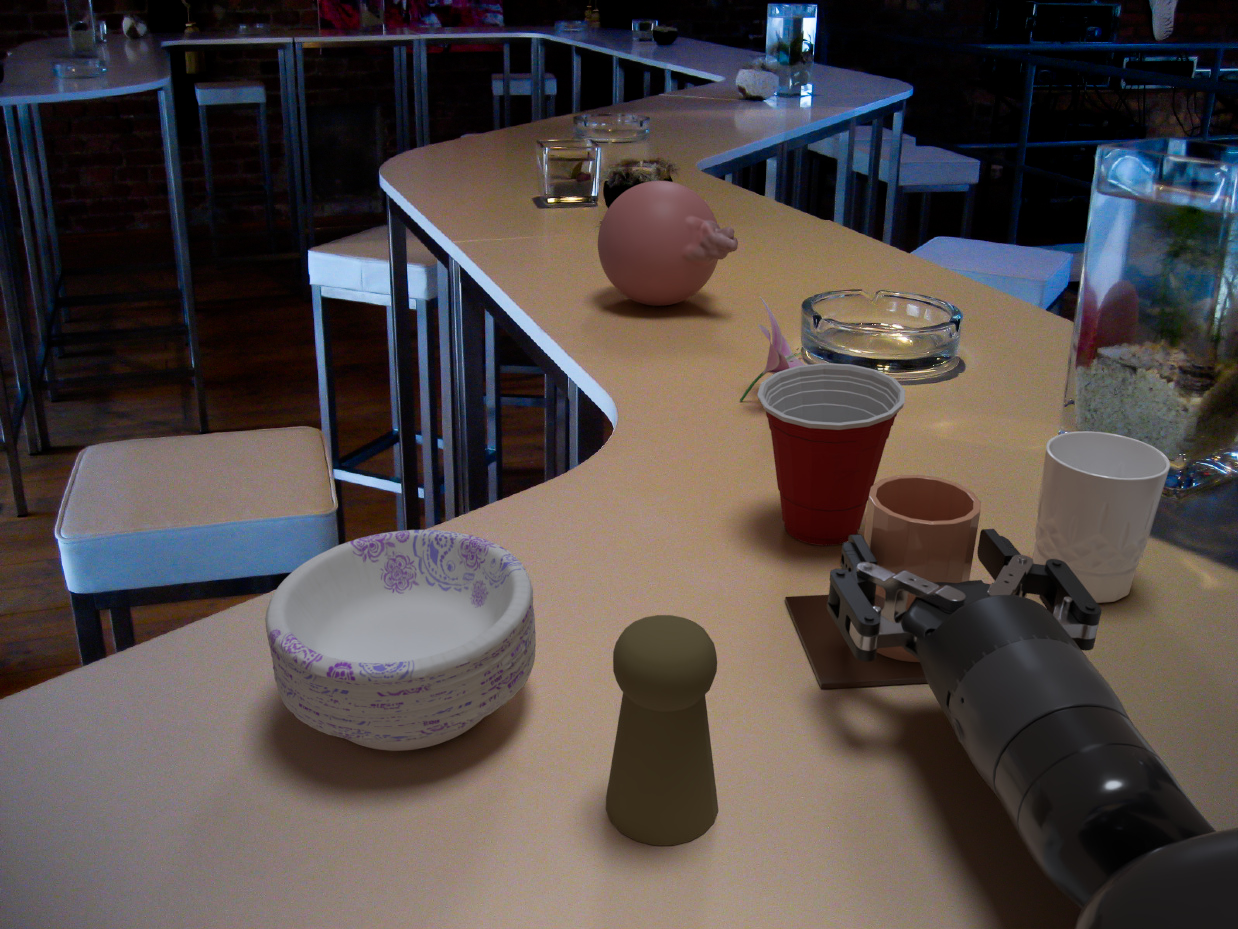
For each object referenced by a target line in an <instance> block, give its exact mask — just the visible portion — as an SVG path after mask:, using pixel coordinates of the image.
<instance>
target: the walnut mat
mask: <svg viewBox="0 0 1238 929" xmlns="http://www.w3.org/2000/svg"><path fill="white" fill-rule="evenodd" d="M828 598H829V594H814V595H792V596H791V595H789V596H784V602H785V605H786V608H787V610H788V612H789V614H790V617H791V619H792V621H793V624H794V626H795V629H796V631H797V633H798V636H799V638H800V641H801V643H802V646H803V648H804V651H805V653H806V656H807V658H808V660H809V663H810V665H811V668H812V670H813V673H814V675H815V677H816V680H817V682H818V684H819V688H820V689H821V690H823V689H840V688H841V689H842V688H843V689H844V688H859V687H862V688H863V687H877V686H878V687H880V686H895V685H913V684H914V685H915V684H928V682H927V680H926V677H925V675H924V672H923V669H922V666H921V663H920V662H907V661H901V660H896V659H892V658H889V657H886V656H883V655H881V654H879V653H876V658H875V660H873V661H870V662H864V661H860V660H858V659H857V658H856V657H855V656H854V654H853V653H852V651H851V649H850V648H849V646H848V644H847V642H846V641H845V639H844V637H843V636H842V634H841V632H840V630H839V629H838V627H837V625H836V624H835V622H834V620H833V618H832V617H831V615H830V613H829V612H828V610H827V601H828Z"/></svg>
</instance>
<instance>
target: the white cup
mask: <svg viewBox="0 0 1238 929" xmlns="http://www.w3.org/2000/svg"><path fill="white" fill-rule="evenodd" d="M1044 449H1045V450H1044V451H1045V452H1044V458H1043V465H1042V466H1043V467H1042V471H1041V480H1040V487H1039V496H1038V500H1037V502H1038V503H1037V514H1036V521H1035V528H1034V529H1035V530H1034V531H1035V542H1034V547H1033V548H1034V549H1033V556H1032V559H1033V563H1034V564H1040V565H1045V564H1046V561H1047V560H1049V559H1058V560H1061V561H1064V562H1065V563H1066V564H1067V565H1068V566H1069V568H1070V569H1071V570H1072V571H1073V573H1074V574H1075V575H1076V577H1077V578H1078V579H1079V581H1080V582H1081V583H1082V584H1083V586H1084V587H1085V588H1086V590H1087V591H1088V592H1089V593H1090V595H1091V596H1092V597H1093V599H1094V600H1095V601H1096V602H1097V604H1101V603H1112V602H1117V601H1120V599H1123V598H1125V597H1127V596H1128V595H1129V594H1130V591H1131V588H1132V585H1133V582H1134V579H1135V575H1136V571H1137V569H1138V566H1139V565H1140V564H1139V563H1140V561H1142V559H1143V557H1144V552H1145V549H1146V546H1147V544H1148V541H1149V539H1150V535H1151V532H1152V529H1153V525H1154V521H1155V518H1156V515H1157V511H1158V509H1159V506H1160V502H1161V498H1162V495H1163V492H1164V488H1165V485H1166V483H1167V478H1168V475H1169V472H1170V469H1171V461H1170V459H1169V458H1168V456H1167V455H1166V454H1164V452H1162V451H1161V450H1160V449H1158V448H1157V447H1155V446H1153V445H1151V444H1149V443H1147V442H1144V441H1143V440H1139V439H1136V438H1132V437H1129V436H1125V435H1121V434H1116V433H1112V432H1103V431H1093V430H1092V431H1091V430H1086V431H1085V430H1082V431H1081V430H1080V431H1071V432H1070V431H1069V432H1064V433H1059V434H1057V435H1054V436H1053V437H1051V438H1050V439H1049V440H1047V442H1046V444H1045V448H1044Z"/></svg>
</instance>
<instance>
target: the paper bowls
mask: <svg viewBox="0 0 1238 929" xmlns="http://www.w3.org/2000/svg"><path fill="white" fill-rule="evenodd" d="M264 619H265V631H266V636H267V641H268V646H269V650H270V657H271V660H272V669H273V675H274V680H275V683H276V687H277V691H278V693H279V696H280V698H281V700H282V703H283V704H284V706H285V707H286V708H287V709H288V710H289V712H290V713H291V714H294V715H293V716H294V717H295V718H296V719H298V720H299V721H300V722H302V723H303V724H304V725H305V724H306V725H307V726H309V727H310V728H312V729H315V730H317V731H318V732H320V733H324V734H326V735H327V736H328V735H329V736H333V737H337V738H340V739H346V740H347V741H350V742H351V743H353V744H356V745H359V746H362V747H365V748H369V749H374V750H380V751H391V752H397V751H398V752H399V751H400V752H402V751H412V750H413V751H415V750H421V749H424V748H429V747H434V746H437V745H440V744H442V743H446V742H448V741H450V740H452V739H455V738H457V737H459V736H461V735H462V734H464V733H466V732H467V731H469V730H470V729H473V727H475V726H476V725H477V724H478V723H479V722H481V721H482V720H483V719H484V718H486V717H488V716H489V715H491V714H492V713H494V712H496V711H497V710H498V709H499V708H501V707H502V706H504V705H506V704H507V703H508V702H509V701H510V700H511V699H513V698H514V697H515V696H516V695H517V694H518V693H519V691H521V689H522V688H523V686H525V684H526V682H527V681H528V679H529V677H530V676H531V673H532V670H533V668H534V664H535V661H536V660H535V659H536V647H537V646H536V645H537V637H536V636H537V635H536V633H537V631H536V616H535V608H534V588H533V584H532V581H531V578H530V575H529V573H528V572H527V570H526V567H525V566H524V564H523V562H521V561H520V559H519V558H517V556H515V555H514V554H513V553H512V552H511V551H509V550H507V549H506V548H504V547H503V546H501V545H499V544H498V543H495V542H493V541H490V540H488V539H486V538H482V537H480V536H474V535H472V534H468V533H463V532H457V531H449V530H442V529H441V530H440V529H439V530H438V529H408V530H396V531H390V532H388V531H387V532H382V533H376V534H371V535H368V536H363V537H362V536H361V537H360V538H359V537H358V538H356V539H354V540H350V541H347V542H344V543H341V544H338V545H335V546H334V547H331V548H330V549H328V550H325V551H323V552H321V553H319V554H317V555H315V556H313V557H312V558H310V559H308V560H306V561H305V562H303V563H302V564H300V565H299V566H298V567H296V568H295V569H294V570H292V571H291V572H290V573H289V574H288V575H287V576H286V577H285V578H284V579H283V580H282V582H281V583H280V584H279V585H278V587H277V588H276V589H275V590H274V592H273V594H272V596H271V598H270V600H269V602H268V605H267V608H266V612H265V618H264Z"/></svg>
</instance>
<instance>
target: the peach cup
mask: <svg viewBox="0 0 1238 929" xmlns="http://www.w3.org/2000/svg"><path fill="white" fill-rule="evenodd" d="M981 502H982V501H981V499H980V498H979V497H978V496H977V495H976V493H974V492H973V491H972V490H971V489H969V488H967V487H965V486H963V485H962V484H960V483H958V482H955V481H952V480H949V479H945V478H942V477H938V476H930V475H924V474H899V475H893V476H890V477H889V476H888V477H887V478H882V479H880V480H878V481H877V482H874V485H873V486H871V488H870V492H869V497H868V501H867V505H866V516H865V525H864V526H865V527H864V535H863V538H864V540H865V541H866V543H867V545H868V546H869V548H870V550H871V552H872V553H873V555H874V557H875V558H876V560H877V565H878V566H880V567H882V568H885V569H887V570H889V571H891V572H893V573H898V572H899V571H901V570H906V571H908V572H911V573H913V574H915V575H917V576H919V577H922V578H924V579H926V580H928V581H930V582H949V583H960V582H965V581H970V578H971V573H972V565H973V559H974V555H975V554H974V553H975V547H976V541H977V535H978V529H979V522H980V517H981V508H982V507H981V506H982V503H981ZM876 594H877V595H879V596H881V597H883V598H885V595H886V592H885V590H884V588H882V587H880V586H878V585H876ZM915 598H916V596H915V595H913V594H910V593H908V596H907V604H906V611H907V610H908V608H909V607H910V605H911V604H912V602H913V601H914V599H915ZM877 653H879V654H881V655H883V656H886V657H889V658H892V659H896V660H901V661H907V662H920V661H919V660H918V659H917V658H916V657H915V656H913V655H912V654H910V653H908V652H907V651H906V650H905V649H904V648H903V647H902V646H899V647H887V648H877Z"/></svg>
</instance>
